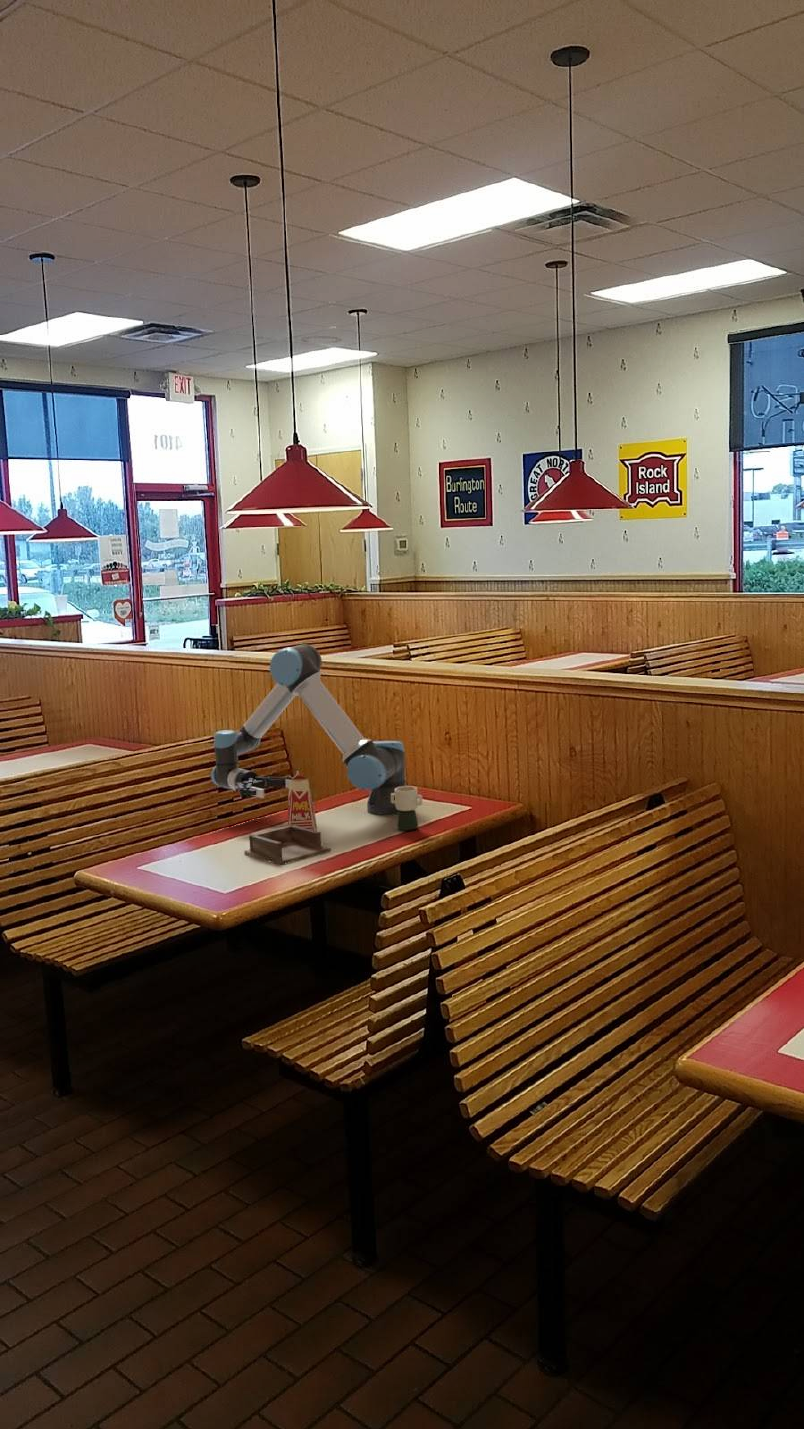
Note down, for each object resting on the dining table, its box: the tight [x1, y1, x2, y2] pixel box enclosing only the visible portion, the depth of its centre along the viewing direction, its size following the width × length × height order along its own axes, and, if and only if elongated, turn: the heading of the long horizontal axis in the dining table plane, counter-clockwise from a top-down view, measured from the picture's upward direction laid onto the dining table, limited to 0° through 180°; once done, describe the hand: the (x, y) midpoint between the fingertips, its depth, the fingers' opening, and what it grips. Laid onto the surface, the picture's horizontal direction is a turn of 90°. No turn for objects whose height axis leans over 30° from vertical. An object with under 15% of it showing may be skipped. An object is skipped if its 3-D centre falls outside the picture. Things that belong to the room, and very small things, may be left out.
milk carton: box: [287, 770, 318, 831], centre depth 344 cm, size 9×9×20 cm
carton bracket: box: [243, 825, 332, 866], centre depth 322 cm, size 18×18×6 cm
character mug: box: [391, 785, 423, 831], centre depth 341 cm, size 11×7×13 cm, turn 63°
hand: (281, 790), depth 351 cm, fingers open, 13 cm apart
